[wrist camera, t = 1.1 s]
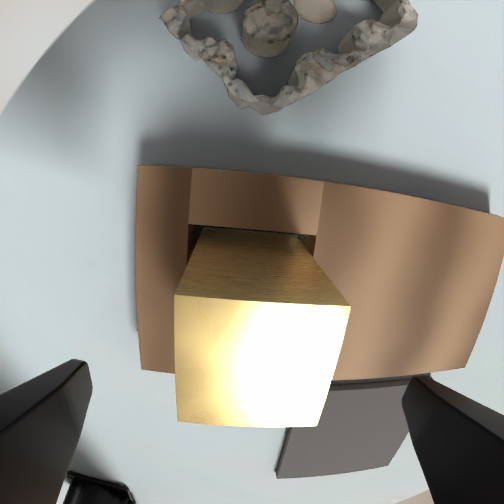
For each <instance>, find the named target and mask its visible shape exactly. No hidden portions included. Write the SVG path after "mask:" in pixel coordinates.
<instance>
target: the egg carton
mask: <svg viewBox="0 0 504 504" xmlns="http://www.w3.org/2000/svg"><path fill="white" fill-rule="evenodd" d="M243 1H244V0H181V1H180V2H179V4H178V5H177V6H175V7H172V8H169V9H167V10H166V11H165V12H164V13H163V14H162V15H161V17H160V18H159V19H161V20H162V21H163V22H164V24H165V25H166V27H167V29H168V30H169V32H170V33H171V34H172V35H174V36H175V37H176V38H177V39H179V40H180V41H181V43H182V45H183V49H184V50H185V51H186V53H187V54H188V55H190V56H191V57H192V58H193V59H194V60H199V59H203V60H204V61H205V63H206V64H207V65H208V66H209V68H210V69H211V70H213V71H214V72H215V73H216V74H217V75H218V76H220V77H221V78H222V79H223V80H224V82H225V86H226V87H227V88H228V95H229V97H230V98H231V99H232V100H233V101H234V102H235V104H236V105H237V106H238V107H240V108H241V109H242V108H245V107H246V106H250V107H251V108H253V109H254V110H256V111H257V112H259V113H260V114H262V115H265V114H270V113H272V112H274V111H276V112H279V111H281V110H282V109H283V108H285V107H286V106H288V105H290V104H292V103H293V102H295V101H297V100H299V99H301V98H303V97H305V96H306V95H308V94H310V93H311V92H313V91H315V90H316V89H318V88H319V87H320V86H322V85H323V84H326V83H328V82H329V81H331V80H333V79H334V78H335V77H336V76H337V75H339V74H340V73H342V72H343V71H345V70H348V69H350V68H352V67H354V66H356V65H357V64H359V63H360V62H362V61H364V60H365V59H367V58H369V57H371V56H373V55H375V54H376V53H378V52H380V51H382V50H384V49H386V48H388V47H390V46H392V45H393V44H395V43H396V42H398V41H399V40H401V39H402V38H404V37H406V36H407V35H409V34H410V33H411V32H412V31H414V30H415V28H416V26H417V19H418V13H417V12H416V11H415V10H414V8H413V7H412V6H411V4H410V2H409V1H408V0H373V1H374V2H375V3H376V4H377V5H378V7H379V8H380V9H381V10H382V13H383V14H382V15H381V17H380V21H379V22H378V21H376V20H375V19H370V20H362V21H360V22H358V23H357V24H354V26H353V27H352V28H351V29H350V30H349V32H348V33H347V34H346V35H345V36H344V37H343V38H342V40H341V41H340V43H339V46H338V51H339V54H335V53H331V52H330V51H329V49H326V48H321V49H319V50H317V51H313V52H307V53H306V52H305V53H303V54H302V55H301V57H300V58H299V59H298V60H297V62H296V66H295V68H294V70H293V72H292V73H291V75H290V76H289V79H288V86H287V85H284V86H283V87H282V88H280V91H279V94H278V95H276V96H275V97H271V96H266V95H253V94H252V93H251V91H250V90H249V88H248V86H247V85H246V84H245V82H244V81H243V80H240V79H235V78H236V72H237V69H238V65H237V63H236V58H235V53H234V48H233V46H232V45H231V44H230V43H229V42H228V41H227V40H226V39H224V40H221V41H216V40H214V39H213V38H211V37H206V38H204V39H201V40H196V39H195V38H193V37H192V36H191V34H192V30H191V24H190V21H189V20H190V19H191V18H192V17H193V16H195V15H196V14H197V13H199V12H201V11H203V10H206V11H208V12H211V13H216V14H227V13H229V12H232V11H235V10H236V9H237V8H239V7H240V6H241V4H242V3H243ZM298 15H299V16H300V17H302V18H303V19H304V20H306V21H309V22H311V23H318V24H321V23H327V22H329V21H331V20H332V19H333V18H334V17H335V15H336V5H335V3H334V1H333V0H294V7H293V5H292V4H291V3H290V2H289V1H288V0H260V1H259V2H257V3H255V4H254V5H252V6H250V7H249V8H248V9H246V10H245V12H244V17H243V21H242V40H241V41H242V42H243V44H244V46H245V48H246V49H247V50H249V51H250V52H251V53H253V54H255V55H257V56H261V57H274V56H277V55H279V54H281V53H282V52H284V51H285V49H286V48H287V46H288V44H289V43H290V41H291V39H292V37H293V35H294V32H295V30H296V27H297V24H298ZM238 37H239V36H238Z"/></svg>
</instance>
